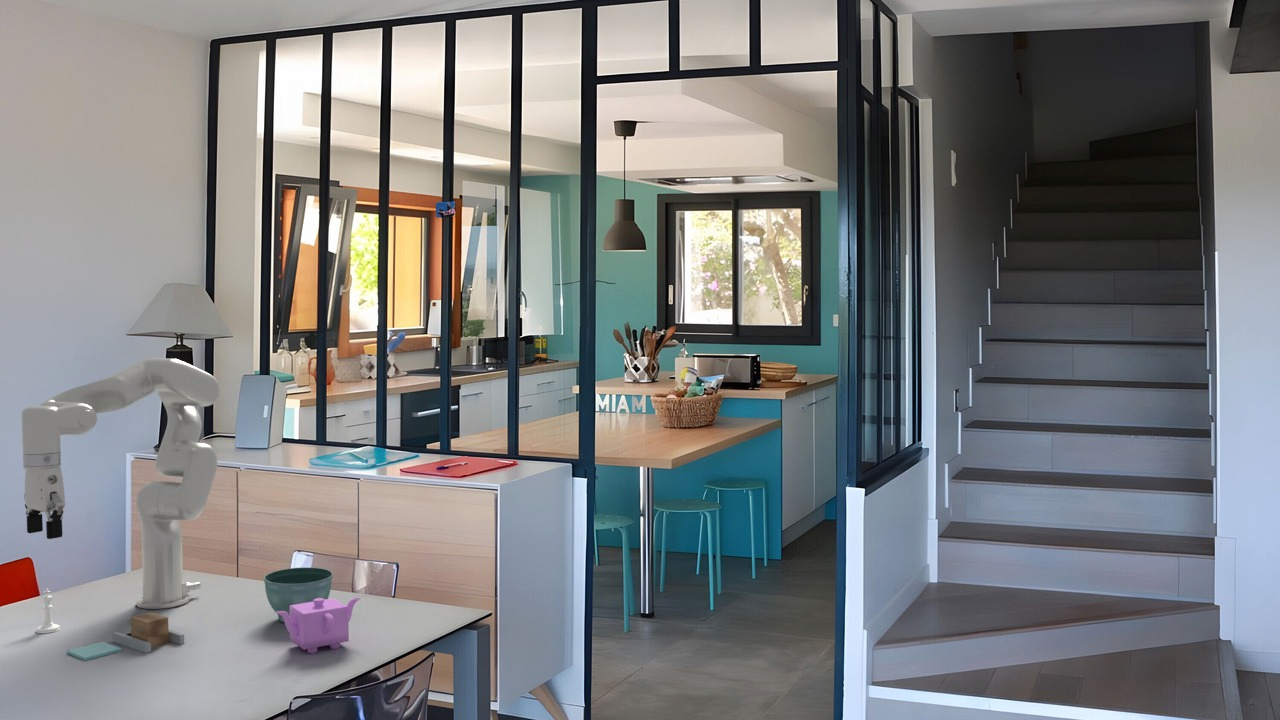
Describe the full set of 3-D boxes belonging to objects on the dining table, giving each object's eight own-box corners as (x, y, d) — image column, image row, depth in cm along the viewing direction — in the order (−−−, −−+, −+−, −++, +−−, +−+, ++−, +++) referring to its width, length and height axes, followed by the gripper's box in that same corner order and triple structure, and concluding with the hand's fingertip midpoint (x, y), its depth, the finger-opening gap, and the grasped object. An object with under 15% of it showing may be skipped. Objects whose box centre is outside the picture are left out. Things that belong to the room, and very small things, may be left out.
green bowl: (347, 614, 270) (346, 571, 270) (301, 631, 256) (300, 586, 255) (297, 606, 277) (296, 564, 276) (249, 623, 262) (249, 579, 262)
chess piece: (49, 634, 253) (48, 591, 253) (31, 632, 254) (30, 590, 254) (64, 627, 258) (63, 586, 258) (46, 626, 259) (45, 585, 259)
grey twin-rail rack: (150, 632, 255) (150, 623, 255) (184, 642, 247) (184, 634, 247) (113, 641, 248) (113, 632, 248) (146, 653, 240) (146, 644, 239)
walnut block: (152, 637, 251) (151, 612, 251) (168, 643, 247) (168, 617, 247) (131, 643, 247) (130, 617, 247) (147, 648, 243) (147, 622, 243)
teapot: (330, 659, 236) (329, 609, 235) (274, 655, 238) (273, 606, 238) (362, 638, 251) (361, 592, 250) (309, 634, 253) (308, 588, 253)
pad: (102, 644, 246) (102, 641, 246) (121, 651, 241) (121, 648, 241) (66, 653, 239) (66, 650, 239) (85, 660, 235) (85, 657, 235)
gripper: (77, 461, 243) (79, 537, 244) (42, 455, 253) (44, 527, 254) (42, 466, 237) (44, 543, 238) (7, 459, 248) (10, 532, 249)
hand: (44, 535), depth 246 cm, fingers open, 9 cm apart
